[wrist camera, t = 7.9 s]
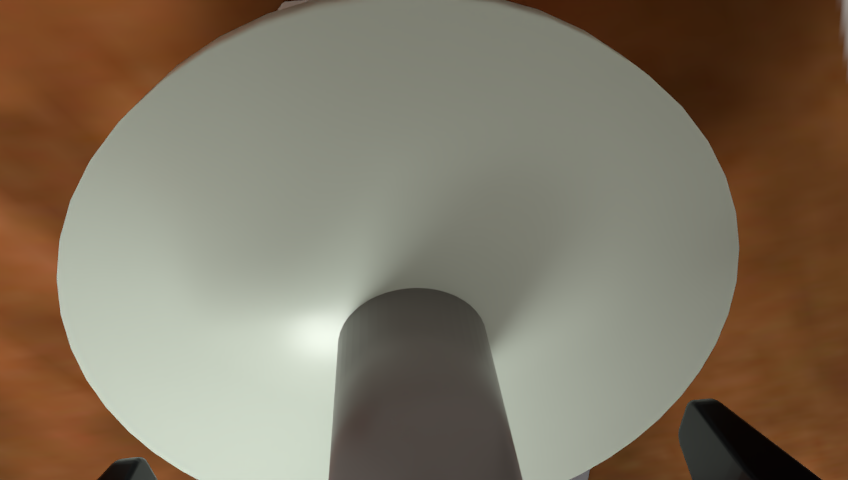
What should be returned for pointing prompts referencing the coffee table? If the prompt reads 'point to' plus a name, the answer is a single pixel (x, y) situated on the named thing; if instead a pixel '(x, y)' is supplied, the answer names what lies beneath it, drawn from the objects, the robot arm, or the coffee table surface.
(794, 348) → the coffee table surface
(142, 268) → the lid
